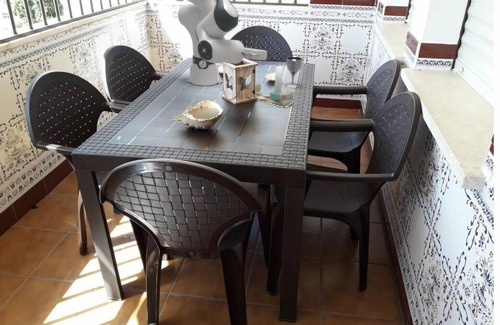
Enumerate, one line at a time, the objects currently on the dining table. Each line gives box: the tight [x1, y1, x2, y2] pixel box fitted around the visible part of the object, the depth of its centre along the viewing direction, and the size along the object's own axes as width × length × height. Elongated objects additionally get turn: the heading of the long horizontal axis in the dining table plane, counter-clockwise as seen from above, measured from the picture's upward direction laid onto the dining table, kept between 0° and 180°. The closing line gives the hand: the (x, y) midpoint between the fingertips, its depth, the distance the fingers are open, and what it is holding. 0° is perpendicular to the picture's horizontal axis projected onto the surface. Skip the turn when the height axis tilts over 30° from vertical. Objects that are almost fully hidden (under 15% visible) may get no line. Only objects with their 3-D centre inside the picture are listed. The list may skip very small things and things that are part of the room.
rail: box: [254, 82, 295, 107], centre depth 192 cm, size 22×7×6 cm, turn 52°
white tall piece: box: [269, 65, 285, 100], centre depth 187 cm, size 5×5×14 cm
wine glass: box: [286, 55, 303, 85], centre depth 212 cm, size 8×8×15 cm
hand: (255, 53), depth 168 cm, fingers open, 8 cm apart
